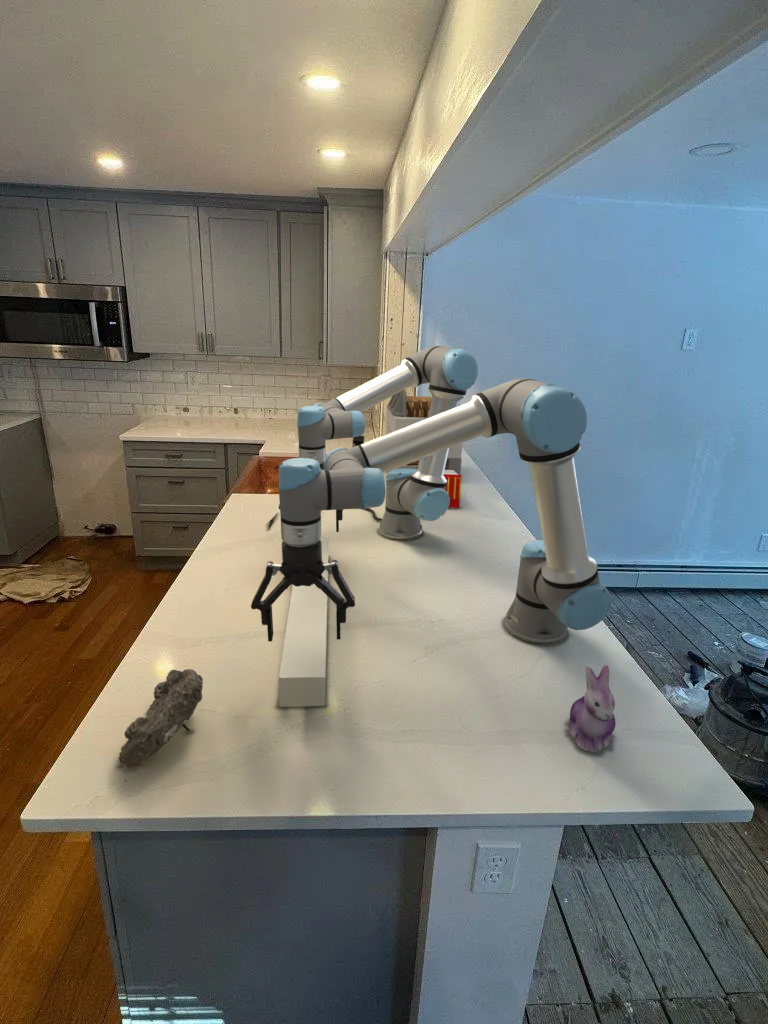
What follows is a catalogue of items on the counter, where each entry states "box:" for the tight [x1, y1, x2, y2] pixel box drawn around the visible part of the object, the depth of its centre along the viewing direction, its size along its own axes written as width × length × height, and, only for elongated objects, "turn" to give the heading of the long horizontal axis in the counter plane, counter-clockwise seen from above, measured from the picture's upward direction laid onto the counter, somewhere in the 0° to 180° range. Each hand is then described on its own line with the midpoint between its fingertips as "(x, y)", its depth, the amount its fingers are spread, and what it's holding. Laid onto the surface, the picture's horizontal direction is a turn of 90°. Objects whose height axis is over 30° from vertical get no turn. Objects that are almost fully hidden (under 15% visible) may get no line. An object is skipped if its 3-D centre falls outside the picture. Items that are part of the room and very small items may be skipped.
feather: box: [265, 512, 279, 530], centre depth 210 cm, size 2×28×2 cm
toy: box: [444, 470, 463, 509], centre depth 239 cm, size 12×13×30 cm
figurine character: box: [351, 435, 365, 448], centre depth 310 cm, size 7×8×15 cm
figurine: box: [568, 664, 617, 753], centre depth 105 cm, size 9×10×15 cm
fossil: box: [118, 668, 204, 768], centre depth 103 cm, size 22×10×15 cm
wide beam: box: [278, 536, 330, 708], centre depth 144 cm, size 71×9×7 cm, turn 5°
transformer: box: [385, 389, 463, 475], centre depth 268 cm, size 34×33×41 cm
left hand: (314, 530), depth 169 cm, fingers open, 13 cm apart
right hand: (304, 636), depth 115 cm, fingers open, 13 cm apart
